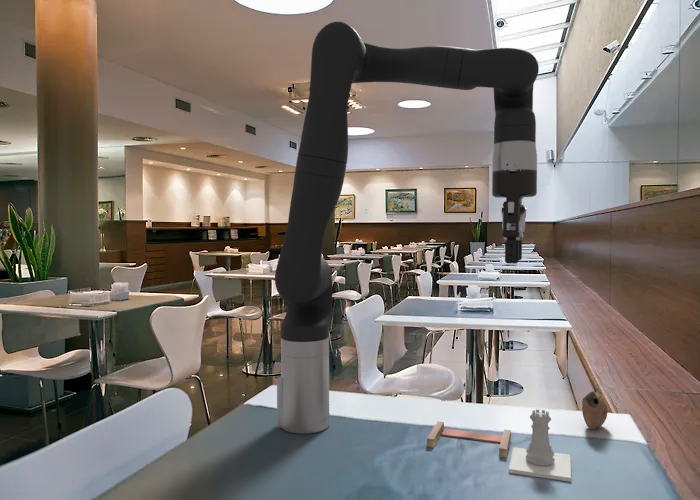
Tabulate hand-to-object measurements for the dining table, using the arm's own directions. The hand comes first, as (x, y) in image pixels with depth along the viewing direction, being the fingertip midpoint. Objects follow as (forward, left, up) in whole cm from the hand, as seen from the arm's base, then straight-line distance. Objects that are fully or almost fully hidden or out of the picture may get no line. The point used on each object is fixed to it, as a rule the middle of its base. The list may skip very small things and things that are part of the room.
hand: (513, 261), depth 97 cm
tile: (+5, -9, -32) cm, 34 cm away
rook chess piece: (+5, -9, -32) cm, 33 cm away
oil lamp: (+14, +11, -32) cm, 37 cm away
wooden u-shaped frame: (-7, -4, -32) cm, 33 cm away
